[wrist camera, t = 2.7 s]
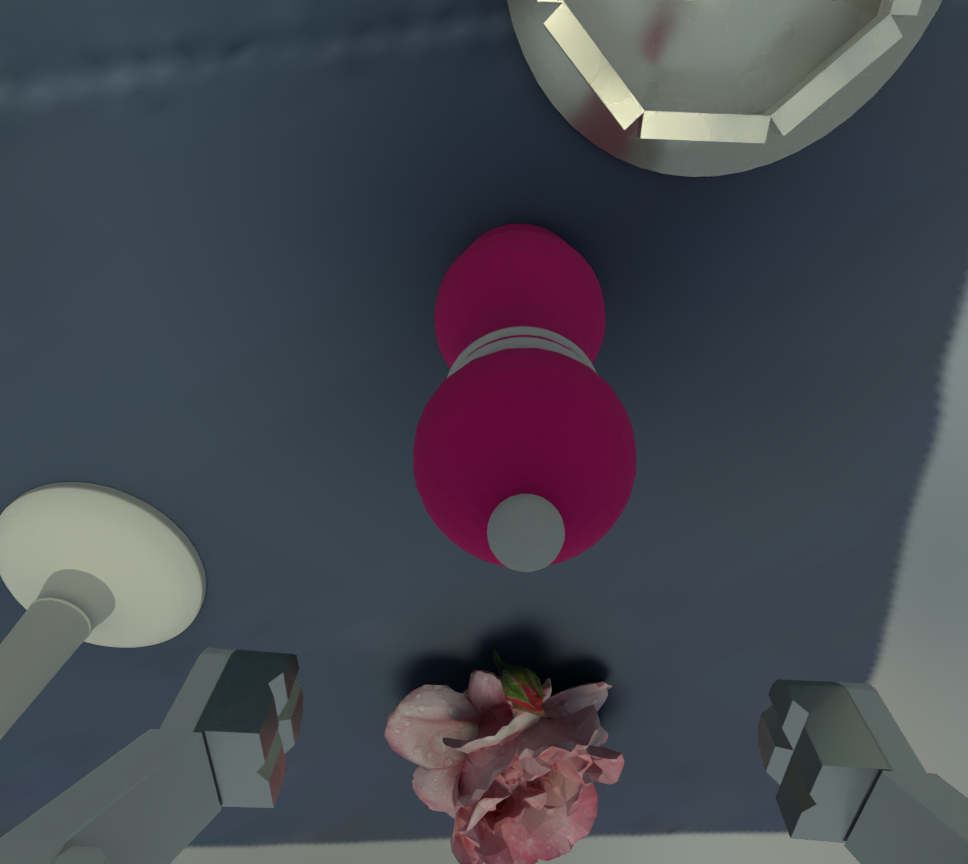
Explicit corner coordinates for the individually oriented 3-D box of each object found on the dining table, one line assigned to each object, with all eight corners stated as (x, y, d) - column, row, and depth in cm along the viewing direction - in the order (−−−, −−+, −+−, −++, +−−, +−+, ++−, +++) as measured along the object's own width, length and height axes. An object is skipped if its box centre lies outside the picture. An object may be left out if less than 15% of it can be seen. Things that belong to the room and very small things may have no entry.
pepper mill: (522, 176, 29) (538, 333, 12) (624, 290, 32) (765, 564, 14) (413, 286, 32) (292, 550, 14) (515, 384, 34) (518, 714, 17)
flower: (439, 821, 48) (461, 960, 39) (360, 667, 43) (362, 783, 34) (622, 737, 49) (686, 852, 40) (564, 578, 45) (621, 666, 35)
